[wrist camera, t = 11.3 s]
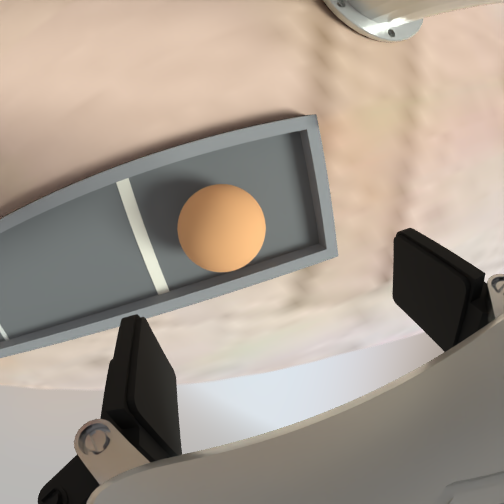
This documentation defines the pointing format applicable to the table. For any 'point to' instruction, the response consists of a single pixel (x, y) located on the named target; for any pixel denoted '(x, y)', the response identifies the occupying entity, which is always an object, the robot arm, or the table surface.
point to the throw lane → (157, 234)
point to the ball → (221, 228)
